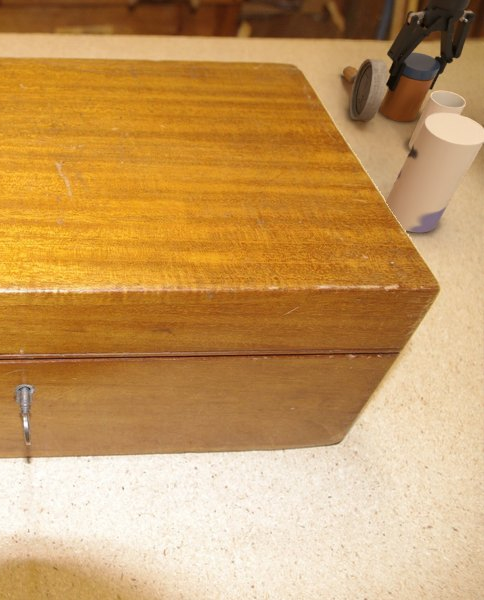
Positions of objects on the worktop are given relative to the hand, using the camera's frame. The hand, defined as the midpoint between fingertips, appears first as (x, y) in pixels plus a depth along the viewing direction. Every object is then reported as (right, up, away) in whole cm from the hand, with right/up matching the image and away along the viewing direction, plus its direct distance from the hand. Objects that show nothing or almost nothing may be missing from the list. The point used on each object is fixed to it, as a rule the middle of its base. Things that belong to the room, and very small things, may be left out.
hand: (408, 87), depth 157 cm
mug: (+1, -14, -4) cm, 14 cm away
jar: (0, -4, +5) cm, 6 cm away
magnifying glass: (-9, -1, +7) cm, 12 cm away
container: (-11, -31, -21) cm, 39 cm away
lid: (0, +4, -4) cm, 6 cm away
